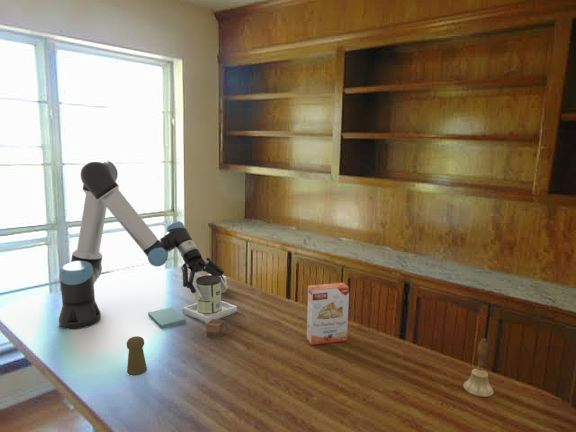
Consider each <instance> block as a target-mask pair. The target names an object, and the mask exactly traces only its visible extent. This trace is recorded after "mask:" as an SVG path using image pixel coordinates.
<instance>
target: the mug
mask: <svg viewBox="0 0 576 432" xmlns="http://www.w3.org/2000/svg"><path fill="white" fill-rule="evenodd" d="M207 275H211V274H209V273H207ZM222 277H223V279H224V281H225V282H224V283H225V284H226V286H227V281H228V280H227V279H228V278H227V276H225V275H224V274H223V275H222ZM227 287H228V286H227ZM223 293H224V292H223V290H222V288H221V294H223Z"/></svg>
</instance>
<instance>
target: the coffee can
mask: <svg viewBox="0 0 576 432" xmlns="http://www.w3.org/2000/svg"><path fill="white" fill-rule="evenodd" d="M195 282H196V283H195V285H196V286H197V288H198V290H199V292H200V294H201V295H202V298H201V299H200V300H197V299H196V303H197V312H198V313H201V314H203V315H213V314H215V313H218V312H220V311H222V309H221V301H222V293H221V277H219V276H215V275H208V274H207V275H201V276H198V277H196V279H195Z"/></svg>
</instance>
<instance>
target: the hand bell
mask: <svg viewBox="0 0 576 432" xmlns="http://www.w3.org/2000/svg"><path fill="white" fill-rule="evenodd" d="M488 350H489V349H488V342H487V339H486V338H484V337H482V338H481V339H480V341H479V343H478V345H477V355H478V362H477V367H476V368H473V369H472V370H471V374H470V376H469V378H468V380H465V381H464V383H463V384H462V386H463V389H464V390H465V391H466V392H468V393H469V394H471V395H474V396H477V397H480V398H488V397H491V396H493V395H494V388H493V387H492V386H491V385H490V382H489V373H488V372H487V371H486V370H484V368H485V360H486V359H485V358H486V357H487V354H488Z"/></svg>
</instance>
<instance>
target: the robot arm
mask: <svg viewBox="0 0 576 432" xmlns="http://www.w3.org/2000/svg"><path fill="white" fill-rule="evenodd" d="M116 167H117V166H115V164H114V163H113V162H111V161H110V160H107V159H103V158H97V159H94V160H90V161H88V162H86V163H85V164H84V165H83V166H82V168H81V170H80V179H81V182H82V184H83V185H82V191H83V192H84V193H85V199H84V205H83V212H82V217H81V224H80V229H79V236H78V242H77V248H76V249H75V250H74V251H72V255H71V260H70V262H68V263H65V264H64V265H62V266H61V267H60V269H59V276H58V277H59V280H60V281H59V283H60V292H61V301H62V303H61V304H62V306H61V308H60V309H61V310H60V313H59V317H58V325H59V327H60V326H61V328H62V327H63V329H66V328H69V329H68V330H76V329H78V330H79V329H82V328H89V327H91V326H93V325H96V324H97V323H98V322H100V321H101V319H102V315H101V314H102V313H101V310H100V308H99V307H98V304H97V302H96V299H95V298H96V297H95V296H96V295H95V283H96V282H97V280H98V279H99V277H100V275H101V273H102V271H103V267H102V266H103V265H102V261H103V255H102V254H101V251H100V249H101V244H102V237H103V231H104V225H105V219H106V213H107V210H109V212H110V213H111V214H112V216H113V217H114V218H115V219H116V220H117V221H118V222H119V224H120V225H121V226H122V227H123V229H124V230H125V231H126V232H127V233H128V235H129V236H130V237H131V239H133V241H134V242H135V243H136V244H137V246H138V247H139V248H140V249H141V250H142V251H143V253H144V254H145V256H146V257H147V260H148V263H149V264H150V265H152V266H154V267H161V266H163V265H164V264H166V262H167V260H168V258H169V252H171V251H173V250H174V249H175V248H176V249H177V252H179V254H180V256H181V258H182V260H183V261H184V263H183V264H182V266H181V267H180V270H181V271H182V286H183V287H184V288H187V289H189V290H190V292H191V293H192V294H194V296H195V298H196V301H197V300H200V299H201V298H202V295H201V294H200V292H199V290H198V288H197V285H196V283H194V279H195V274H196V273H199V272H206V273H207V274H211V275H215V276H219V277H221V288H222V290H223V293H224V292H226V291H227V290H228V286H226V284H225V283H224V282H225V281H224V279H223V277H222V275H224V273H225V271H224V270H223V269H222V268H220V267H219V266H218V265H217V264H215V263H214V262H213V261H212V260H211V258H209V257H207V258H206V259H203V257H202V254H201V252H200V250H199V249H198V248H197V245H196V243H195V242H194V240H193V237H191V234H190V233H189V231H188V229H187V228H186V227H185V225H184V223H183V222H182V221H180V220H177V221H174V222H171V223H170V224H169V225H168V226H167V227H166V231H167V232H166V233H164V234H163V235H161V236H160V237H157V236H156V235H155V234H154V232H153V231H152V230H151V228H149V226H148V225H147V223H146V222H145V221H144V219H143V218H142V217H141V215H139V214H138V212H137V211H136V210H135V209H134V207H133V206H132V204H131V203H130V202H129V201H128V200H127V199H126V197H125V196H124V195H123V193H122V192H121V191H120V190H119V187H120V186H119V184H118V183H117V182H116V181H117V180H118V169H117V168H116ZM189 270H190V272H188V271H189Z"/></svg>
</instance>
